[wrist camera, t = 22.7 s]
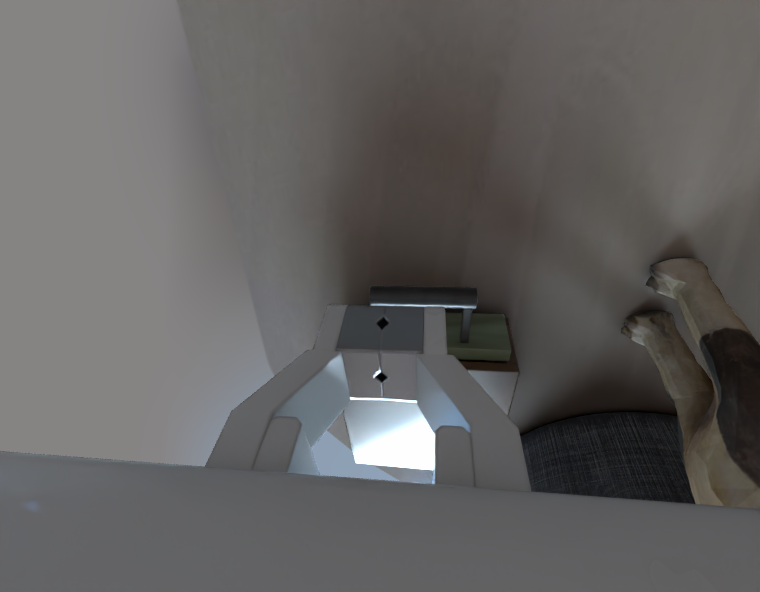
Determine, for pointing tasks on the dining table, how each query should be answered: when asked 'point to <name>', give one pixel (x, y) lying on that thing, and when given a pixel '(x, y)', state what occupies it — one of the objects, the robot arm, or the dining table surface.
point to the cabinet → (417, 419)
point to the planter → (609, 457)
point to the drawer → (454, 320)
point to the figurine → (707, 383)
